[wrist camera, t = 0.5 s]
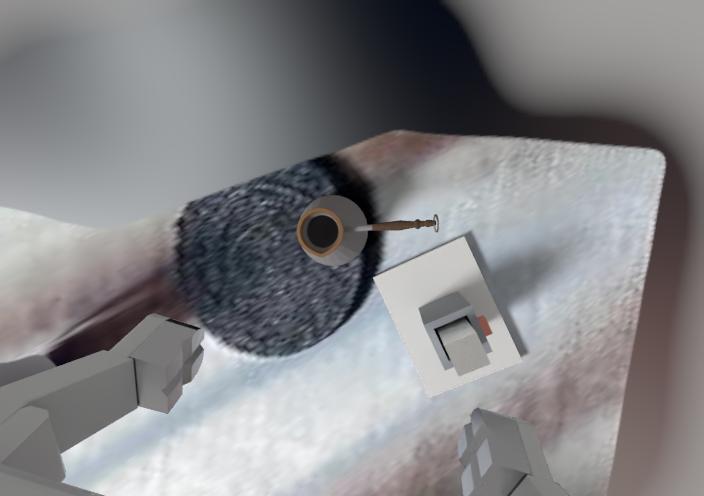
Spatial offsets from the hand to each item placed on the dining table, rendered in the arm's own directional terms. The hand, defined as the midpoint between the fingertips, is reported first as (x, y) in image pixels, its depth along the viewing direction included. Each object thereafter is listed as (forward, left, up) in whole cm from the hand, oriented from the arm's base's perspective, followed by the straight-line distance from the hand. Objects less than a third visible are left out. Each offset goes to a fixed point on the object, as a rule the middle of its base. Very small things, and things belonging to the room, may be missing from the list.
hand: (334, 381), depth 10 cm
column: (-14, -5, -47) cm, 49 cm away
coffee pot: (+5, +1, -49) cm, 49 cm away
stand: (-14, -5, -49) cm, 51 cm away
